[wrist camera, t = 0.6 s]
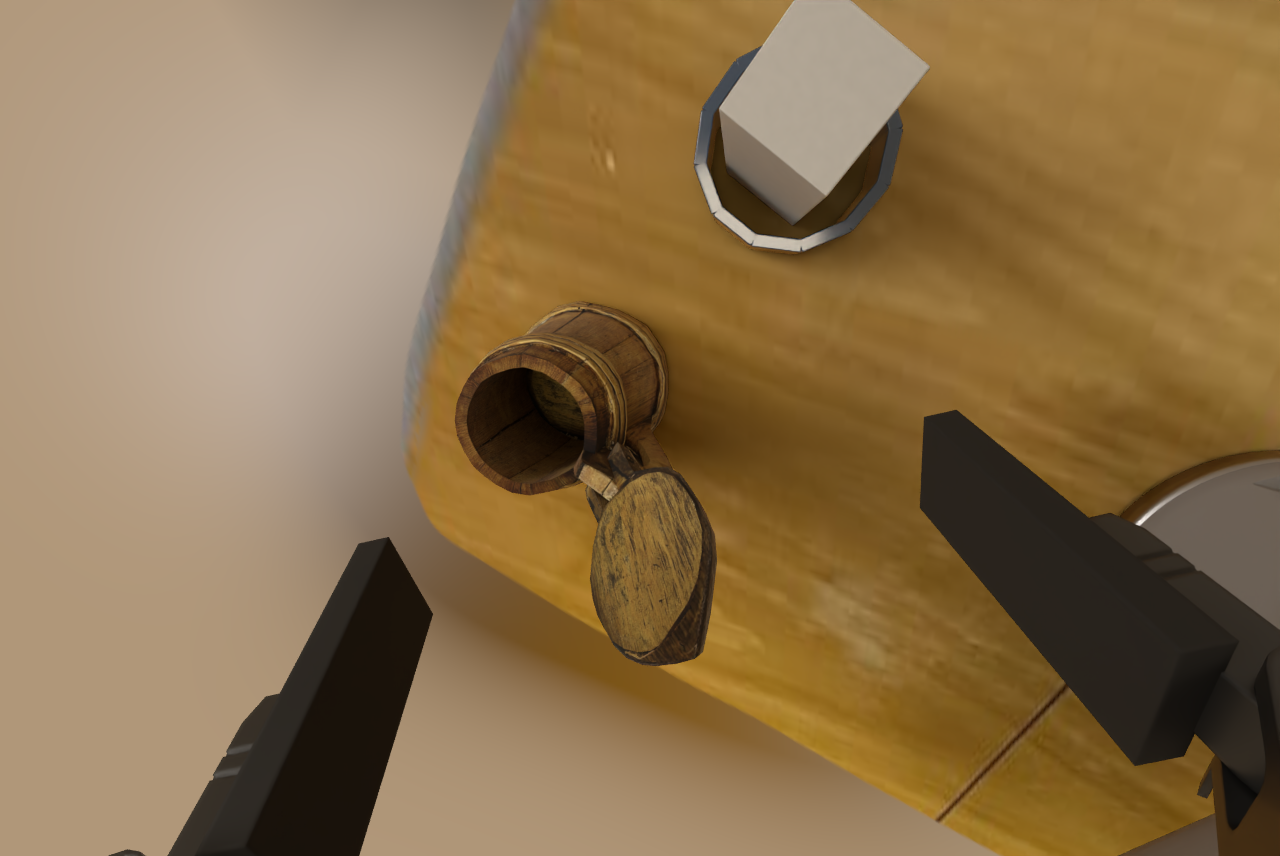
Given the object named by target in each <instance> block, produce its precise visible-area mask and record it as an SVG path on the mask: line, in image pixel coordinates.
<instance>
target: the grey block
mask: <svg viewBox="0 0 1280 856" xmlns="http://www.w3.org/2000/svg"><path fill="white" fill-rule="evenodd" d="M929 69H930V66H929V65H928V64H927V63H926V62H924V61H923V60H922V59H921V58H920V57H918V56H917V55H916V54H915V53H914V52H912V51H911V50H910V49H909V48H907V47H906V46H905V45H904V44H903V43H901V42H900V41H899V40H898V39H897V38H895V37H894V36H893V35H892V34H891V33H889V32H888V31H887V30H886V29H885V28H883V27H882V26H881V25H880V24H879V23H877V22H876V21H875V20H874V19H872V18H871V17H870V16H869V15H868V14H866V13H865V12H864V11H863V10H862V9H860V8H859V7H858V6H857V5H856V4H854V3H853V2H852V1H851V0H794V1H793V3H792V4H791V6H790V7H789V8H788V10H787V11H786V13H785V14H784V16H783V17H782V19H781V20H780V21H779V23H778V24H777V26H776V27H775V29H774V30H773V31H772V33H771V34H770V36H769V37H768V39H767V40H766V41H765V43H764V44H763V46H762V47H761V49H760V50H759V52H758V53H757V54H756V56H755V57H754V59H753V60H752V62H751V63H750V64H749V66H748V67H747V69H746V70H745V72H744V73H743V75H742V76H741V77H740V79H739V80H738V82H737V83H736V85H735V86H734V87H733V89H732V90H731V92H730V93H729V95H728V96H727V97H726V99H725V100H724V102H723V103H722V105H721V106H720V108H719V111H720V119H721V128H722V136H723V144H724V152H725V161H726V169H727V173H728V174H729V175H730V176H732V177H733V178H734V179H735V180H737V181H738V182H739V183H740V184H741V185H743V186H744V187H745V188H746V189H748V190H749V191H750V192H751V193H753V194H754V195H755V196H756V197H758V198H759V199H760V200H761V201H762V202H764V203H765V204H766V205H767V206H769V207H770V208H771V209H772V210H774V211H775V212H776V213H777V214H779V215H780V216H781V217H782V218H784V219H785V220H786V221H787V222H788V223H790V224H791V225H794V224H795V223H797V222H798V221H799V220H800V219H801V218H802V217H804V216H805V215H806V214H807V213H808V212H809V211H811V210H812V209H813V208H814V207H815V206H816V205H817V204H819V203H820V202H821V201H822V200H823V199H824V198H826V197H827V196H828V195H829V194H830V192H831V191H832V190H833V189H834V187H835V186H836V185H837V184H838V182H839V181H840V180H841V179H842V177H843V176H844V175H845V174H846V172H847V171H848V170H849V169H850V167H851V166H852V165H853V164H854V162H855V161H856V160H857V159H858V157H859V156H860V155H861V154H862V152H863V151H864V150H865V149H866V147H867V146H868V145H869V144H870V142H871V141H872V140H873V139H874V137H875V136H876V135H877V134H878V133H879V131H880V130H881V129H882V128H883V126H884V125H885V124H886V123H887V121H888V120H889V119H890V118H891V116H892V115H893V114H894V113H895V111H896V110H897V109H898V108H899V106H900V105H901V104H902V103H903V101H904V100H905V99H906V98H907V96H908V95H909V94H910V93H911V91H912V90H913V89H914V88H915V86H916V85H917V84H918V83H919V81H920V80H921V79H922V78H923V76H924V75H925V74H926V73H927V72H928V70H929Z"/></svg>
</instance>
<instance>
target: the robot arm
mask: <svg viewBox="0 0 1280 856" xmlns="http://www.w3.org/2000/svg"><path fill="white" fill-rule="evenodd" d="M920 508H921V510H922V511H923V512H924V513H925V514H926V516H927V517H928V518H929V519H930V520H931V522H932V523H933V524H934V525H935V526H936V528H937V529H938V530H939V531H940V532H941V534H942V535H943V536H944V537H945V538H946V540H947V541H948V542H949V543H950V545H951V546H952V547H953V548H954V549H955V551H956V552H957V553H958V554H959V555H960V557H961V558H962V559H963V560H964V561H965V563H966V564H967V565H968V566H969V567H970V569H971V570H972V571H973V572H974V573H975V575H976V576H977V577H978V578H979V579H980V581H981V582H982V583H983V584H984V585H985V587H986V588H987V589H988V590H989V591H990V593H991V594H992V595H993V596H994V597H995V599H996V600H997V601H998V602H999V603H1000V605H1001V606H1002V607H1003V608H1004V609H1005V611H1006V612H1007V613H1008V614H1009V615H1010V617H1011V618H1012V619H1013V620H1014V621H1015V623H1016V624H1017V625H1018V626H1019V627H1020V629H1021V630H1022V631H1023V632H1024V633H1025V635H1026V636H1027V637H1028V638H1029V639H1030V641H1031V642H1032V643H1033V644H1034V645H1035V647H1036V648H1037V649H1038V650H1039V651H1040V653H1041V654H1042V655H1043V656H1044V657H1045V659H1046V660H1047V661H1048V662H1049V663H1050V665H1051V666H1052V667H1053V668H1054V669H1055V671H1056V672H1057V673H1058V674H1059V675H1060V677H1061V678H1062V679H1063V680H1064V681H1065V683H1066V684H1067V685H1068V686H1069V687H1070V689H1071V690H1072V691H1073V692H1074V693H1075V695H1076V696H1077V697H1078V698H1079V699H1080V701H1081V702H1082V703H1083V704H1084V705H1085V707H1086V708H1087V709H1088V710H1089V711H1090V713H1091V714H1092V715H1093V716H1094V717H1095V719H1096V720H1097V721H1098V722H1099V723H1100V725H1101V726H1102V727H1103V728H1104V729H1105V731H1106V732H1107V733H1108V734H1109V735H1110V737H1111V738H1112V739H1113V740H1114V742H1115V743H1116V744H1117V745H1118V746H1119V748H1120V749H1121V750H1122V751H1123V752H1124V754H1125V755H1126V756H1127V757H1128V758H1129V760H1130V761H1131V762H1132V763H1133V764H1134V766H1138V765H1143V764H1148V763H1153V762H1158V761H1163V760H1168V759H1173V758H1178V757H1183V756H1184V755H1185V753H1186V751H1187V749H1188V747H1189V745H1190V743H1191V741H1192V738H1193V736H1194V734H1196V735H1197V736H1198V737H1199V738H1200V739H1201V740H1202V741H1203V742H1204V743H1205V744H1206V745H1207V746H1208V747H1209V748H1210V750H1211V751H1212V752H1213V753H1214V754H1215V756H1214V757H1213V759H1212V761H1211V763H1210V765H1209V767H1208V769H1207V771H1206V773H1205V774H1204V776H1203V778H1202V780H1201V782H1200V785H1199V789H1198V793H1197V795H1199V796H1202V797H1204V798H1208V796H1209V794H1210V792H1211V790H1212V789H1213V795H1214V806H1215V813H1214V814H1212V815H1210V816H1208V817H1205V818H1203V819H1201V820H1198V821H1196V822H1194V823H1192V824H1189V825H1187V826H1185V827H1183V828H1180V829H1178V830H1176V831H1173V832H1171V833H1169V834H1167V835H1164V836H1162V837H1160V838H1157V839H1155V840H1153V841H1151V842H1148V843H1146V844H1144V845H1141V846H1139V847H1137V848H1135V849H1132V850H1130V851H1128V852H1126V853H1123V854H1121V855H1119V856H1280V450H1279V451H1260V452H1250V453H1244V454H1238V455H1233V456H1228V457H1224V458H1221V459H1217V460H1213V461H1210V462H1207V463H1204V464H1201V465H1198V466H1196V467H1193V468H1191V469H1189V470H1186V471H1184V472H1182V473H1179V474H1177V475H1176V476H1174V477H1172V478H1170V479H1168V480H1166V481H1164V482H1163V483H1161V484H1159V485H1158V486H1156V487H1155V488H1153V489H1151V490H1150V491H1149V492H1147V493H1146V494H1145V495H1143V496H1142V497H1141V498H1139V499H1138V500H1137V501H1136V502H1135V503H1133V504H1132V505H1131V506H1130V507H1129V508H1128V509H1127V510H1126V511H1125V512H1124V513H1123V514H1122V515H1121V516H1120V517H1118V516H1116V515H1114V514H1112V513H1108V514H1104V515H1099V516H1094V517H1090V518H1088V517H1087V516H1086V515H1085V514H1083V513H1082V512H1081V511H1080V510H1079V509H1077V508H1076V507H1075V506H1074V505H1072V504H1071V503H1070V502H1069V501H1068V500H1066V499H1065V498H1064V497H1063V496H1061V495H1060V494H1059V493H1058V492H1056V491H1055V490H1054V489H1053V488H1052V487H1050V486H1049V485H1048V484H1047V483H1045V482H1044V481H1043V480H1042V479H1041V478H1039V477H1038V476H1037V475H1036V474H1034V473H1033V472H1032V471H1031V470H1030V469H1028V468H1027V467H1026V466H1025V465H1023V464H1022V463H1021V462H1020V461H1019V460H1017V459H1016V458H1015V457H1014V456H1012V455H1011V454H1010V453H1009V452H1008V451H1006V450H1005V449H1004V448H1003V447H1001V446H1000V445H999V444H998V443H996V442H995V441H994V440H993V439H992V438H990V437H989V436H988V435H987V434H985V433H984V432H983V431H982V430H981V429H979V428H978V427H977V426H976V425H974V424H973V423H972V422H971V421H970V420H968V419H967V418H966V417H965V416H963V415H962V414H961V413H960V412H959V411H957V410H953V411H949V412H944V413H940V414H936V415H931V416H927V417H924V430H923V451H922V473H921V494H920ZM432 616H433V613H432V611H431V610H430V608H429V606H428V605H427V603H426V601H425V599H424V597H423V596H422V594H421V592H420V591H419V589H418V587H417V585H416V584H415V582H414V580H413V578H412V577H411V575H410V573H409V571H408V570H407V568H406V566H405V564H404V563H403V561H402V559H401V558H400V556H399V554H398V552H397V551H396V549H395V547H394V545H393V544H392V542H391V540H390V538H389V537H387V538H382V539H378V540H373V541H369V542H365V543H360V544H358V546H357V548H356V550H355V552H354V554H353V555H352V557H351V559H350V561H349V563H348V565H347V567H346V569H345V571H344V572H343V574H342V576H341V578H340V580H339V582H338V584H337V586H336V588H335V590H334V592H333V593H332V595H331V597H330V599H329V601H328V603H327V605H326V607H325V609H324V610H323V612H322V615H321V616H320V618H319V620H318V622H317V624H316V626H315V628H314V630H313V632H312V633H311V635H310V637H309V639H308V641H307V643H306V645H305V647H304V648H303V651H302V652H301V654H300V656H299V658H298V660H297V662H296V664H295V666H294V668H293V669H292V671H291V673H290V675H289V677H288V679H287V681H286V683H285V685H284V686H283V688H282V690H281V692H280V694H276V695H271V696H266V697H265V698H264V699H263V700H262V701H261V703H260V704H259V705H258V706H257V707H256V708H255V709H254V710H253V712H252V713H251V714H250V715H249V716H248V717H247V718H246V719H245V721H244V722H243V723H242V724H241V726H240V728H239V730H238V732H237V733H236V735H235V737H234V739H233V741H232V742H231V744H230V746H229V748H228V749H227V755H226V757H223V758H222V760H221V762H220V764H219V765H218V767H217V769H216V771H215V772H214V774H213V776H214V778H213V780H212V781H209V783H208V785H207V787H206V788H205V790H204V792H203V794H202V796H201V798H200V799H199V801H198V803H197V804H196V806H195V808H194V810H193V811H192V813H191V815H190V817H189V819H188V820H187V822H186V824H185V826H184V828H183V830H182V831H181V833H180V835H179V837H178V838H177V840H176V842H175V843H174V845H173V847H172V849H171V851H170V852H169V854H168V856H359V855H360V851H361V848H362V845H363V841H364V838H365V835H366V832H367V828H368V825H369V822H370V818H371V815H372V812H373V809H374V806H375V802H376V799H377V796H378V792H379V789H380V785H381V782H382V779H383V776H384V773H385V770H386V766H387V763H388V760H389V756H390V753H391V750H392V747H393V743H394V740H395V737H396V734H397V730H398V727H399V724H400V720H401V717H402V714H403V710H404V707H405V704H406V700H407V697H408V694H409V691H410V688H411V685H412V681H413V678H414V675H415V671H416V668H417V665H418V661H419V658H420V655H421V652H422V648H423V645H424V642H425V639H426V635H427V632H428V629H429V626H430V622H431V619H432ZM109 856H145V855H144V854H143V853H141V852H139V851H133V850H124V851H121V852H118V853H115V854H112V855H109Z"/></svg>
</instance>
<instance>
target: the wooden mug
mask: <svg viewBox="0 0 1280 856" xmlns="http://www.w3.org/2000/svg"><path fill="white" fill-rule="evenodd" d="M667 397H668V369H667V364H666V359H665V354H664V350H663V349H662V347H661V346H660V345H659V343H658V342H657V340H656V339H655V337H654V336H653V334H652V333H651V331H650V330H649V328H648V327H647V326H646V325H645V324H643V323H641V322H639V321H638V320H636V319H634V318H633V317H631V316H629V315H627V314H625V313H623V312H621V311H619V310H616V309H612V308H608V307H605V306H601V305H597V304H591V303H586V302H581V301H578V302H574V303H570V304H566V305H562V306H558V307H557V308H555V309H554V310H553V311H551V312H550V313H549V314H547V315H546V316H545V317H543V318H542V319H541V320H539V321H538V322H537V323H535V324H534V325H533V326H532V327H531V328H530V329H529V330H528V332H527V333H526V334H525V335H523V336H519V337H516V338H512V339H509V340H507V341H505V342H503V343H502V344H500V345H499V346H497V347H496V348H494V349H493V350H491V351H490V352H489V353H488V354H487V355H486V356H485V357H484V358H483V359H482V360H481V362H480V363H479V364H478V365H477V367H476V368H475V369H474V370H473V371H472V373H471V375H470V377H469V378H468V380H467V382H466V383H465V385H464V387H463V389H462V392H461V394H460V397H459V399H458V402H457V406H456V415H455V424H456V431H457V436H458V438H459V441H460V443H461V445H462V448H463V450H464V452H465V453H466V455H467V457H468V458H469V460H470V461H471V463H472V465H473V466H474V467H475V468H476V469H477V470H478V471H479V472H480V473H482V474H483V475H484V476H485V477H486V478H488V479H489V480H491V481H492V482H493V483H495V484H496V485H498V486H500V487H502V488H504V489H506V490H508V491H510V492H512V493H518V494H524V495H534V494H539V493H544V492H549V491H554V490H558V489H562V488H567V487H571V486H574V485H577V484H580V483H582V482H584V483H585V484H587V487H586V490H585V491H586V496H587V500H588V502H589V504H590V507H591V509H592V511H593V513H594V515H595V518H596V520H597V522H598V528H597V532H596V536H595V540H594V545H593V553H592V564H591V575H590V581H591V589H592V596H593V601H594V605H595V608H596V612H597V615H598V617H599V619H600V621H601V623H602V625H603V627H604V629H605V630H606V632H607V634H608V636H609V637H610V639H611V641H612V643H613V645H614V646H615V647H616V648H617V649H618V650H619V651H620V652H621V653H622V654H623V655H624V656H625V657H626V658H628V659H630V660H633V661H635V662H637V663H640V664H642V665H652V666H660V665H668V664H677V663H681V662H684V661H688V660H692V659H695V658H696V657H697V656H699V655H700V654H701V653H702V652H703V649H704V644H705V639H706V634H707V629H708V624H709V619H710V614H711V606H712V598H713V590H714V581H715V573H716V564H717V554H716V542H715V534H714V532H713V529H712V527H711V524H710V522H709V520H708V517H707V515H706V513H705V511H704V509H703V507H702V506H701V504H700V502H699V501H698V499H697V498H696V496H695V494H694V493H693V491H692V490H691V488H690V487H689V485H688V484H687V482H686V481H685V480H684V478H683V477H682V476H681V474H679V473H677V472H676V471H674V470H673V469H672V467H671V465H670V463H669V461H668V459H667V457H666V455H665V453H664V452H663V450H662V448H661V447H660V445H659V443H658V442H657V440H656V438H655V436H654V434H653V431H654V429H655V428H656V427H657V426H658V425H659V423H660V421H661V419H662V417H663V415H664V413H665V408H666V402H667Z"/></svg>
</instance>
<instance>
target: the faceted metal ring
mask: <svg viewBox="0 0 1280 856" xmlns="http://www.w3.org/2000/svg"><path fill="white" fill-rule="evenodd" d="M762 46H763V45H762ZM762 46H760V47H758V48H756V49H755V50H753V51H751V52H749V53H747V54H745V55H743V56H741V57H739V58H737V59H736V61H734V62H733V64H732V65H731V67H730V68H729V69H728V71H727V72H726V74H725V75H724V77H723V78H722V80H721V81H720V83H719V84H718V86H717V87H716V88H715V90H714V91H713V93H712V94H711V96H710V97H709V99H708V100H707V102H706V103H705V104H704V106H703V108H702V109H703V110H702V111H701V115H700V122H699V129H698V137H697V144H696V151H695V158H694V165H695V166H694V168H695V171H696V174H697V176H698V179H699V182H700V185H701V187H702V190H703V193H704V195H705V198H706V201H707V203H708V206H709V209H710V212H711V214H712V216H713V218H714V220H715V221H716V223H717V224H719V225H720V226H721V227H722V228H724V229H725V230H726V231H727V232H729V233H730V234H731V235H732V236H734V237H735V238H736V239H737V240H739V241H740V242H741V243H742V244H744V245H745V246H746V247H747V248H750V249H751V250H759V251H767V252H775V253H783V254H791V255H794V254H799V253H802V252H805V251H807V250H810V249H812V248H814V247H817V246H819V245H821V244H824V243H826V242H829V241H831V240H833V239H836V238H838V237H840V236H843V235H845V234H848V233H850V232H851V231H852V230H854V229H855V228H856V226H857V225H858V224H859V223H860V222H861V220H862V219H863V218H864V217H865V216H866V214H867V213H868V212H869V211H870V210H871V208H872V207H873V206H874V205H875V204H876V203H877V201H878V200H879V199H880V198H881V197H882V195H883V194H884V193H885V192H886V191H887V189H888V188H889V187H888V186H889V185H890V184H891V180H892V176H893V171H894V167H895V163H896V158H897V154H898V150H899V145H900V141H901V137H902V132H903V129H902V127H903V124H902V121H901V118H900V114H899V111H898V109H897V110H896V111H895V113H894V114H893V115H892V116H891V118H890V119H889V120H888V121H887V123H886V124H885V125H884V126H883V128H882V129H881V130H880V131H879V133H878V134H877V135H876V136H875V137H874V139H873V140H872V141H871V142H870V145H871V149H870V154H869V159H868V163H867V168H866V172H865V177H864V182H863V186H862V191H861V192H860V194H859V195H858V196H857V197H856V198H855V200H854V201H853V202H852V203H851V205H850V206H849V207H848V208H847V209H846V211H845V212H844V213H843V214H842V216H841V217H840V218H839V219H838V220H837V222H836V223H835V224H834V225H832V226H830V227H828V228H825V229H823V230H821V231H818V232H816V233H814V234H811V235H809V236H806V237H804V238H802V239H797V238H788V237H780V236H772V235H763V234H756V233H755V232H754V231H753V230H751V229H750V228H749V227H748V226H746V225H745V224H744V223H743V222H741V221H740V220H739V219H738V218H737V217H735V216H734V215H733V214H732V213H730V212H729V211H728V210H727V209H725V208H724V207H723V206H722V203H721V200H720V198H719V195H718V192H717V189H716V187H715V184H714V181H713V179H712V176H711V168H712V161H713V154H714V147H715V140H716V134H717V131H718V129H719V128H720V127H721V119H720V111H719V108H720V106H721V105H722V103H723V102H724V100H725V99H726V97H727V96H728V95H729V93H730V92H731V90H732V89H733V87H734V86H735V85H736V83H737V82H738V80H739V79H740V77H741V76H742V75H743V73H744V72H745V70H746V69H747V67H748V66H749V64H750V63H751V62H752V60H753V59H754V57H755V56H756V54H757V53H758V52H759V50H760V49H761V47H762Z"/></svg>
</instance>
